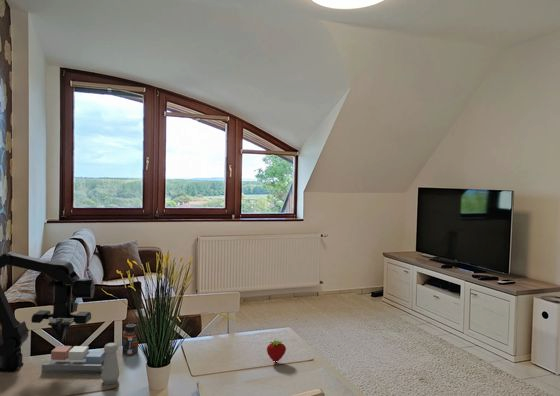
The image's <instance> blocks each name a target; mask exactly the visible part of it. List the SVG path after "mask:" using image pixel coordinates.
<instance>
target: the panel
mask: <svg viewBox="0 0 560 396" xmlns="http://www.w3.org/2000/svg"><path fill="white" fill-rule="evenodd" d="M90 351H91V350H88V354H89V353H90ZM105 356H106V352H105ZM104 361H105V359H104ZM104 361H103V362H102V363H101V364H86V357H85V358H84V360H68V358H67V359H66V360H51V361H49V362H48V363H42V364H41V375H85V374H89V375H90V374H91V375H92V376H93V374H94V375H96V376H97V374H98V376H101V374H102V370H103V365H104Z"/></svg>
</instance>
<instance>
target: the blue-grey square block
mask: <svg viewBox="0 0 560 396" xmlns="http://www.w3.org/2000/svg"><path fill="white" fill-rule="evenodd" d="M89 351H90V353H89V354H88V355H87V356H86V364H101V363H102V362H103V361H104V359H105V351H104V350H89Z"/></svg>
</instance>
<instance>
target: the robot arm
mask: <svg viewBox="0 0 560 396" xmlns="http://www.w3.org/2000/svg"><path fill="white" fill-rule="evenodd" d="M6 266H12V267H16V268H20V269H24V270H28V271H29V270H30V271H33V272H38V273H41V274H44V275H45V276H47V277H48V278H50V279H51V280H50V282H49V283H48V284H47V285H46V286H47V287H53V301H52V302H51V306H52V307H53V308H52V309H53V311H52V312H51V310H46V309H45V310H43V309H42V310H38V311H36V312H35V313H34V314H32V316H31V323H35V324H36V323H37V324H40V323H42V322H43V321H44V320H48V321H49V322H48V325H47V326H50V327H51V329H52V330H53V332H54V333H55V334H56V337H57V339H58V341H59V342H63V340H64V339H65V336H66V334H67V332H68V329H69V326H70V325H72V324H73V323H74V324H75V325H85V324H88V322H89V321H91V320H92V313H91V311H79V312H78V305H79V303H78V302H74V299H73V298H72V297H74V298H75V299H93V298H94V295H95V289H96V286H95V282H94V278H84V279H83V278H82V279H81V278H80V276H79V275H78V274H77V272H76V271H75V268H74V265H73V264H72V263H71V262H70V261H66V260H65V261H63V260H61V261H60V260H44V259H40V258H38V257H37V258H36V257H33V256H27V255H24V254H19V253H16V252H14V251H7V252H4V253H3V254H1V255H0V269H2V268H4V267H6ZM75 312H78V313H76V314H73V313H75ZM0 326H1V333H0V336H1V337H0V338H1V340H2V341H1V342H2V344H0V373H4V372H5V373H12V372H13V373H14V372H16V370H18V369H19V368H20V367H21V366H23V365H24V362H23V353H22V349H21V347H22V346H23V344H24V343H25V342H26V341H27V340H28V338H29V332H30V330H29V328H28V327H27V324H26V322H25V321H22V322H20V321H19V320H18V319H17V318H16V316H15V314H14V312H13V310H12V307H11V305H10V303H9V300H8V298H7V296H6V293H5V291H4V289H3V287H2V285H1V283H0Z"/></svg>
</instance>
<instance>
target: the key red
mask: <svg viewBox="0 0 560 396" xmlns="http://www.w3.org/2000/svg"><path fill="white" fill-rule="evenodd" d="M72 348H73V346H72V345H57V346H55V348H53V349H52V350H51V352H50V360H51V361H52V360H66V359H67V358H68V355H69V351H70V350H71V349H72Z"/></svg>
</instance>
